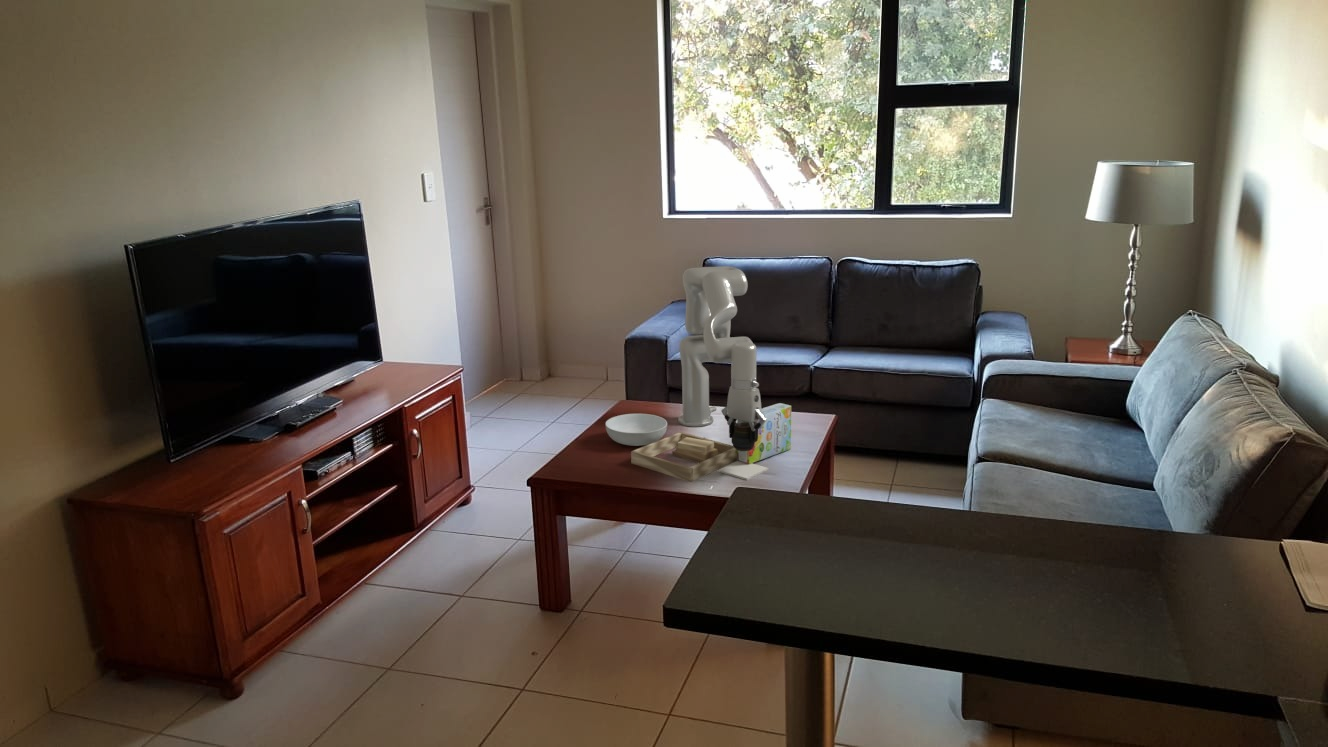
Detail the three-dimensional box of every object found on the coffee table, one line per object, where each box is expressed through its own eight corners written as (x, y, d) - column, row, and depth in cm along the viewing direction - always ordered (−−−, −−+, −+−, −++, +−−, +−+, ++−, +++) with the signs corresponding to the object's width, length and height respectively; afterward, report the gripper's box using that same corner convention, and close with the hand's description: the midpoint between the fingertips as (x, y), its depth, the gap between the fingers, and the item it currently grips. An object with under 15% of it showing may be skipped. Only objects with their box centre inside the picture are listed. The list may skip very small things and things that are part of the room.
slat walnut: (686, 451, 298) (686, 445, 297) (719, 461, 289) (719, 455, 288) (672, 457, 293) (672, 451, 292) (705, 467, 284) (705, 461, 283)
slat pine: (686, 442, 295) (686, 437, 294) (714, 447, 290) (714, 441, 289) (677, 448, 290) (677, 442, 289) (705, 453, 285) (705, 447, 284)
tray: (681, 443, 304) (681, 431, 303) (739, 459, 288) (739, 447, 287) (631, 463, 286) (631, 451, 285) (690, 481, 270) (690, 469, 269)
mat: (739, 461, 286) (739, 459, 286) (768, 469, 279) (768, 467, 279) (718, 471, 278) (718, 469, 278) (746, 480, 271) (746, 478, 271)
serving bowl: (641, 456, 292) (641, 436, 290) (593, 444, 304) (592, 425, 302) (679, 439, 308) (679, 420, 306) (632, 428, 320) (631, 409, 318)
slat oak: (689, 446, 296) (689, 441, 296) (717, 455, 288) (717, 449, 288) (676, 452, 292) (676, 446, 291) (704, 460, 284) (704, 454, 283)
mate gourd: (760, 448, 277) (760, 417, 274) (745, 455, 271) (745, 423, 269) (741, 443, 281) (741, 413, 279) (726, 450, 276) (726, 418, 273)
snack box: (777, 445, 299) (779, 402, 296) (791, 449, 296) (793, 405, 292) (735, 460, 285) (736, 414, 281) (749, 465, 281) (750, 418, 278)
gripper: (774, 385, 268) (773, 442, 273) (728, 376, 279) (728, 430, 284) (760, 391, 263) (759, 448, 267) (713, 381, 274) (713, 436, 279)
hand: (743, 439), depth 276 cm, fingers closed on mate gourd, 7 cm apart
